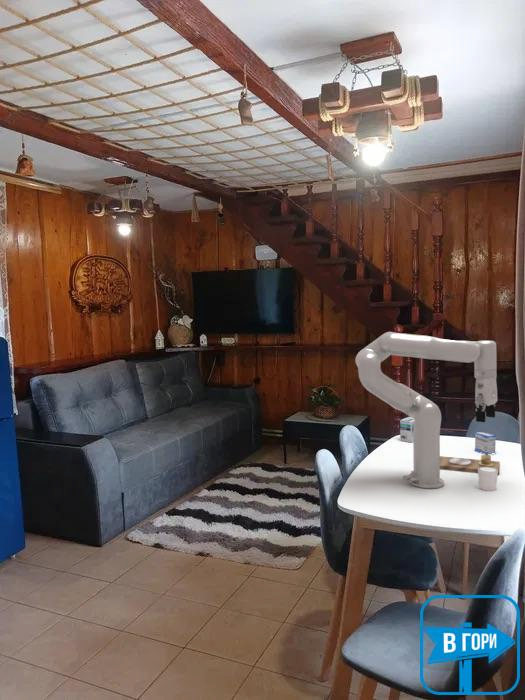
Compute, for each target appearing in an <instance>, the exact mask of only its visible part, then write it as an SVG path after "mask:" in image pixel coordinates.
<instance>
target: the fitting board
mask: <svg viewBox="0 0 525 700" xmlns="http://www.w3.org/2000/svg"><path fill="white" fill-rule="evenodd" d="M500 464H501V463H500V461H499V460H498V461H497V460H496V461H495V460H492V456H491V455H487V454H481V456H480V459H473V458H466V457H465V458H463V457H452V456H441V455H440V470H445V471H453V470H454V472H455V471H456V472H463V473H464V472H465V473H474V474H475V473H476V474H478V468H479V467H491V468H495V469H497V470H498V475H497V476H500V467H501V466H500Z"/></svg>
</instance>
